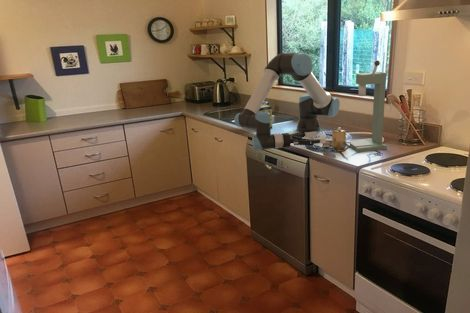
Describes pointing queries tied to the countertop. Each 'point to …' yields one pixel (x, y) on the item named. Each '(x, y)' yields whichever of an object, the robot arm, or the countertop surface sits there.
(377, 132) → the arbor press
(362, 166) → the countertop surface
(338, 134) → the housing
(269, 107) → the protein box
